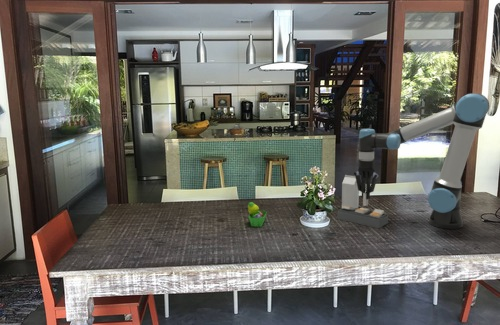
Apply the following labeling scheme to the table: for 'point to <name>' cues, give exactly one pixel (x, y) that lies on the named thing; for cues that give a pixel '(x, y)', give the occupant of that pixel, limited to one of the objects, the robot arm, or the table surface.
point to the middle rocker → (362, 210)
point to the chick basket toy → (256, 215)
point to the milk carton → (350, 192)
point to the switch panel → (362, 218)
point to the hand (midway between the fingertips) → (365, 205)
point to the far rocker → (348, 207)
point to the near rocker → (377, 213)
